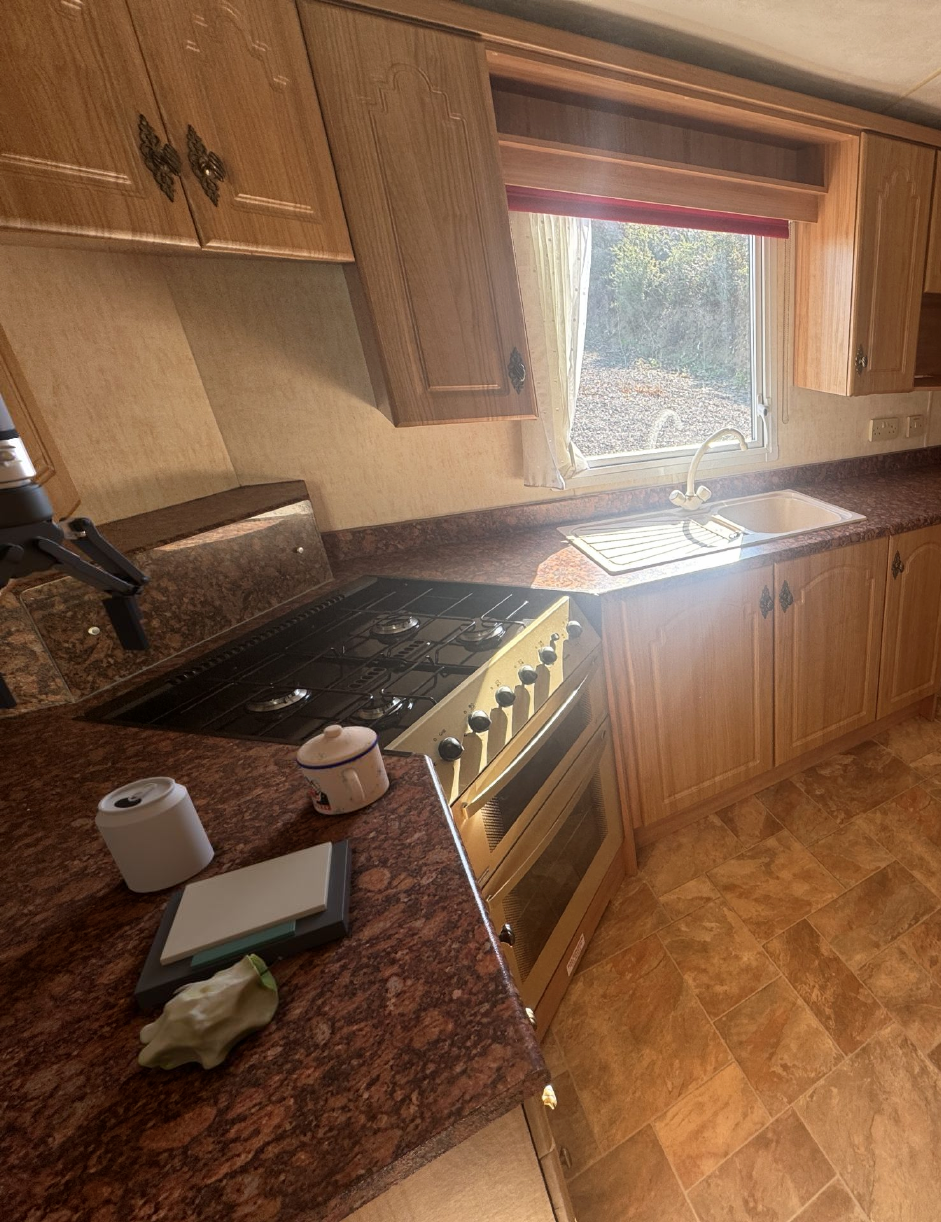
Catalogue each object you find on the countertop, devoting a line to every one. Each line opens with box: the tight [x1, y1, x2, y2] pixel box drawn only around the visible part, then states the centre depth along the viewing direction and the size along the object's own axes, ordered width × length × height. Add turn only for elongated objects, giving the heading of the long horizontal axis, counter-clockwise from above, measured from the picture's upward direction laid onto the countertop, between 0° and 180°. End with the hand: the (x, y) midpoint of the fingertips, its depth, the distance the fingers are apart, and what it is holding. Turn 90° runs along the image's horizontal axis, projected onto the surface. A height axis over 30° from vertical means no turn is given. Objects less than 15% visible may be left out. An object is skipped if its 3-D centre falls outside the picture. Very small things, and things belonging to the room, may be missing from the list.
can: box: [94, 776, 215, 894], centre depth 74 cm, size 8×8×12 cm
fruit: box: [137, 954, 283, 1071], centre depth 58 cm, size 9×9×8 cm
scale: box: [133, 839, 353, 1010], centre depth 69 cm, size 16×14×4 cm
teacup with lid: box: [295, 724, 390, 815], centre depth 86 cm, size 12×9×12 cm
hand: (75, 675), depth 71 cm, fingers open, 13 cm apart
